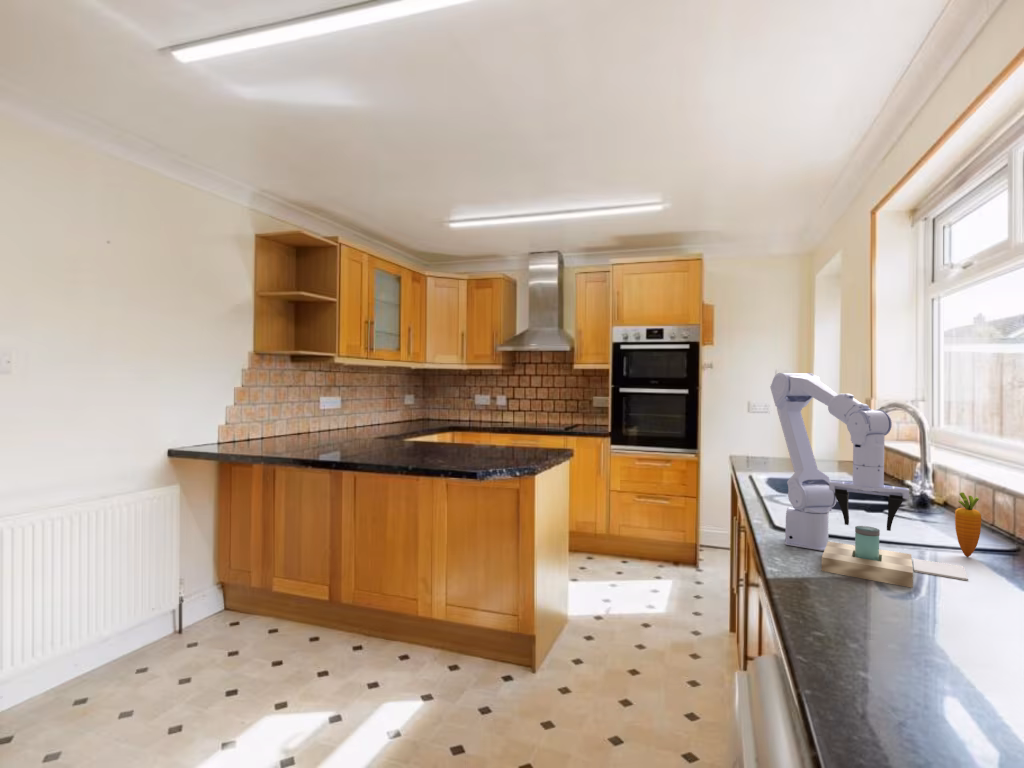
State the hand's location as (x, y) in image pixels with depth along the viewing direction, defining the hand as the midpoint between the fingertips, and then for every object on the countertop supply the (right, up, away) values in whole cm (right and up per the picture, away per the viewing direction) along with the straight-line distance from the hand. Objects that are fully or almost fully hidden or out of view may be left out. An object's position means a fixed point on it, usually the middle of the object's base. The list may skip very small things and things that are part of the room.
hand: (867, 526), depth 119 cm
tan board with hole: (0, -9, 0) cm, 9 cm away
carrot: (+29, -10, +9) cm, 32 cm away
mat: (+16, -10, 0) cm, 18 cm away
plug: (0, -9, 0) cm, 9 cm away
